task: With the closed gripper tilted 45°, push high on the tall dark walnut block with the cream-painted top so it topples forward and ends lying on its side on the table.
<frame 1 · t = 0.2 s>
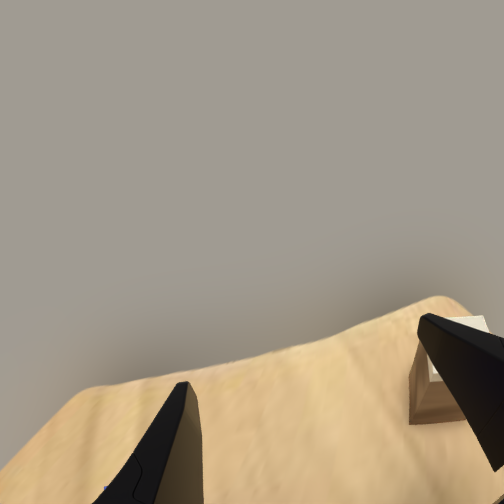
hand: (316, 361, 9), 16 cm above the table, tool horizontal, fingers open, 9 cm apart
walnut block: (436, 397, 20), on the table
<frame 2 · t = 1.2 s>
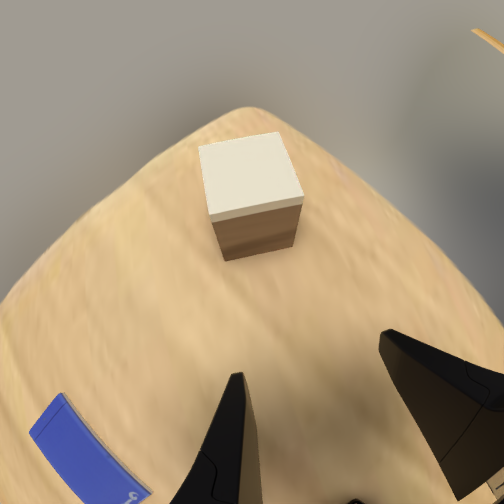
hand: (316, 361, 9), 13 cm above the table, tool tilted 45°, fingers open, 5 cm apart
hard drive: (88, 461, 17), on the table
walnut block: (251, 224, 26), on the table
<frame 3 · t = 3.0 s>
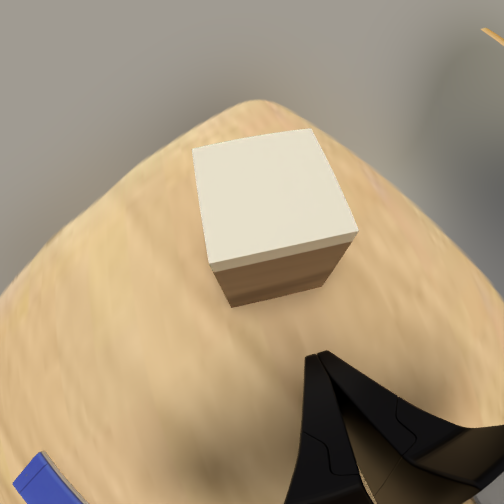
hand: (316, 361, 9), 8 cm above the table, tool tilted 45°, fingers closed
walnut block: (266, 255, 19), on the table
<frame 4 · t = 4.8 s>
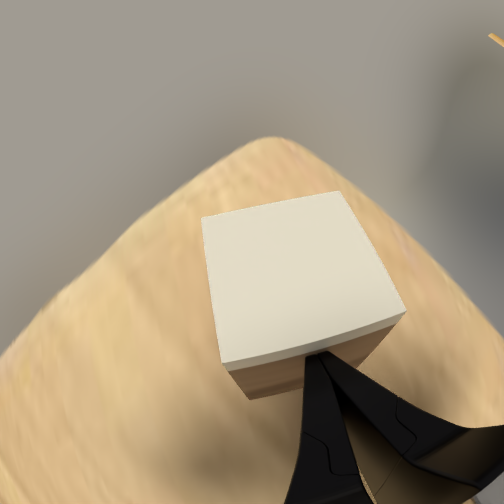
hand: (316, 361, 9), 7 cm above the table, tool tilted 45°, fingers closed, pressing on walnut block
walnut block: (289, 340, 16), point 1 cm above the table, tilted 15°, touching gripper
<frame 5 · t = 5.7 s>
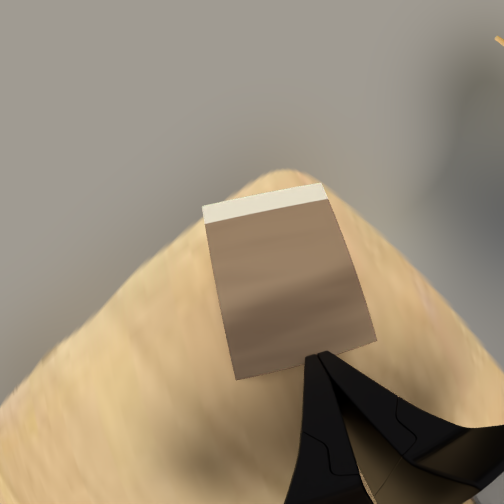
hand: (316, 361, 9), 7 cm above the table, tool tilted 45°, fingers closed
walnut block: (300, 363, 13), point 3 cm above the table, tilted 90°
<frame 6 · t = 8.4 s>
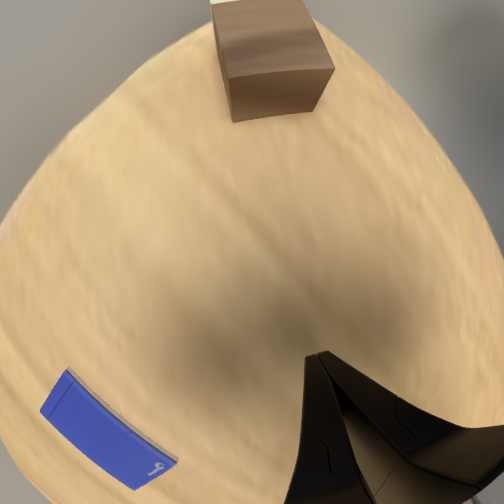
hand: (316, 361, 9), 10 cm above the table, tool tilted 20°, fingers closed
hard drive: (105, 431, 20), on the table
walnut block: (278, 96, 16), point 3 cm above the table, tilted 90°
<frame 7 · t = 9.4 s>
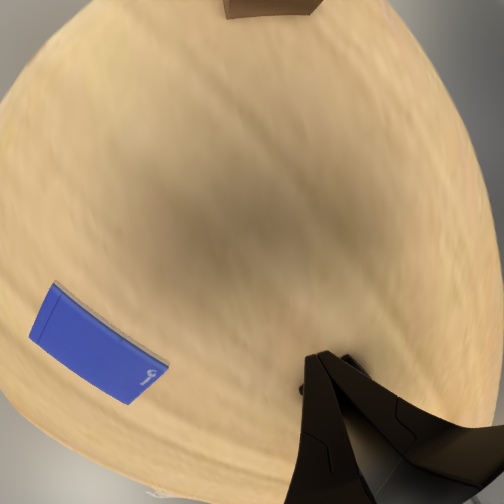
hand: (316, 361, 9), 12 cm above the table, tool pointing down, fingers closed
hard drive: (95, 344, 22), on the table
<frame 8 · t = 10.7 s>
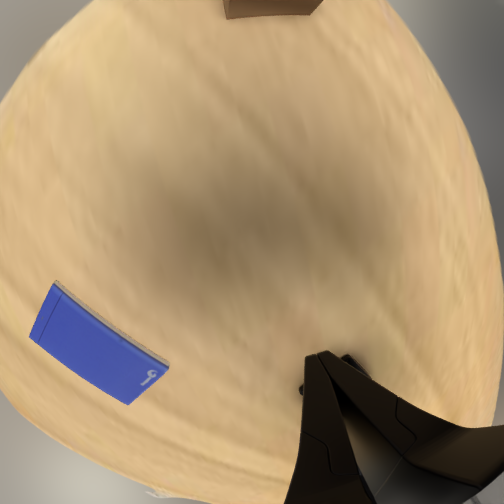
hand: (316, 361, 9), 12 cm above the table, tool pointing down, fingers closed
hard drive: (96, 344, 22), on the table
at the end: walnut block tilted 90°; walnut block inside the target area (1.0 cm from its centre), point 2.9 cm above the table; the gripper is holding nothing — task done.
